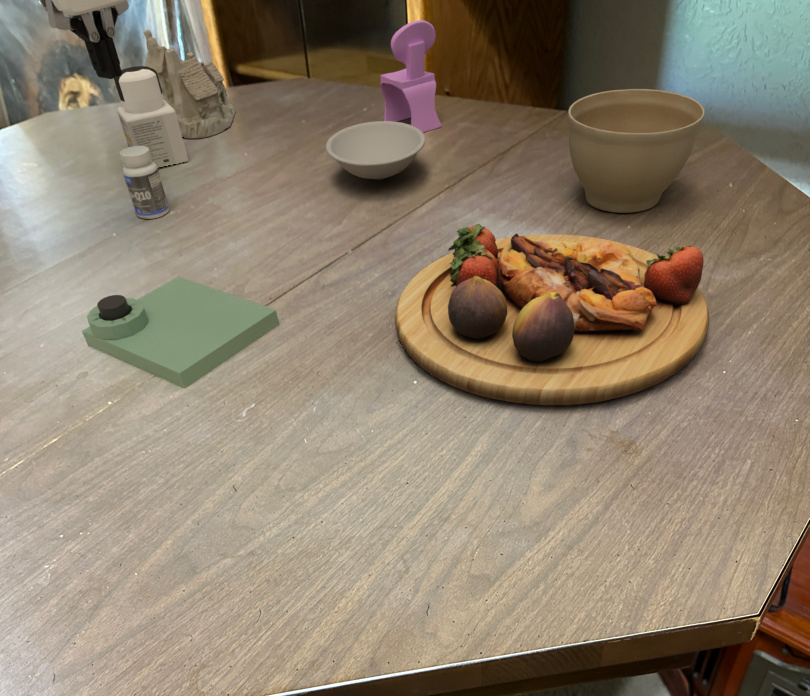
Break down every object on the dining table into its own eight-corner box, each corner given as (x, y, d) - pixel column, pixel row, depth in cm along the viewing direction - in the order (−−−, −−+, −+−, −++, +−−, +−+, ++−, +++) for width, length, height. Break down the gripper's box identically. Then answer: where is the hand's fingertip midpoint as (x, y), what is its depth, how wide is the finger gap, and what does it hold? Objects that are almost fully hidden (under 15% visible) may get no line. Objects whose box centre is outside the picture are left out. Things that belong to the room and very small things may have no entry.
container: (132, 159, 120) (103, 69, 111) (177, 148, 122) (152, 59, 113) (142, 173, 115) (113, 80, 106) (189, 162, 117) (164, 69, 108)
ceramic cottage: (188, 142, 123) (164, 36, 113) (144, 127, 133) (118, 29, 123) (264, 123, 131) (247, 22, 121) (217, 111, 140) (198, 16, 130)
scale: (88, 346, 79) (75, 317, 77) (182, 291, 87) (174, 263, 84) (185, 389, 72) (174, 359, 70) (279, 325, 80) (273, 295, 77)
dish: (330, 160, 113) (326, 126, 110) (421, 152, 113) (419, 116, 110) (330, 206, 101) (325, 168, 98) (432, 196, 101) (430, 158, 98)
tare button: (96, 317, 77) (91, 304, 76) (118, 305, 79) (113, 292, 78) (114, 325, 76) (108, 311, 75) (136, 312, 77) (131, 298, 76)
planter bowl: (551, 222, 93) (559, 129, 85) (570, 174, 103) (578, 87, 95) (682, 230, 89) (703, 133, 81) (688, 179, 99) (706, 89, 91)
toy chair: (416, 113, 126) (411, 9, 115) (446, 125, 121) (444, 17, 110) (377, 125, 123) (368, 19, 112) (406, 137, 118) (399, 28, 107)
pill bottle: (130, 218, 103) (109, 155, 97) (148, 205, 106) (128, 143, 100) (158, 221, 102) (138, 157, 96) (176, 207, 105) (157, 145, 99)
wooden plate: (707, 262, 83) (726, 187, 77) (702, 431, 62) (727, 348, 56) (439, 244, 91) (436, 175, 85) (355, 390, 70) (345, 312, 64)
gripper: (5, -109, 72) (79, 97, 86) (124, -129, 80) (174, 63, 93) (-34, -109, 76) (43, 90, 89) (83, -128, 83) (137, 57, 97)
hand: (110, 76), depth 91 cm, fingers closed
